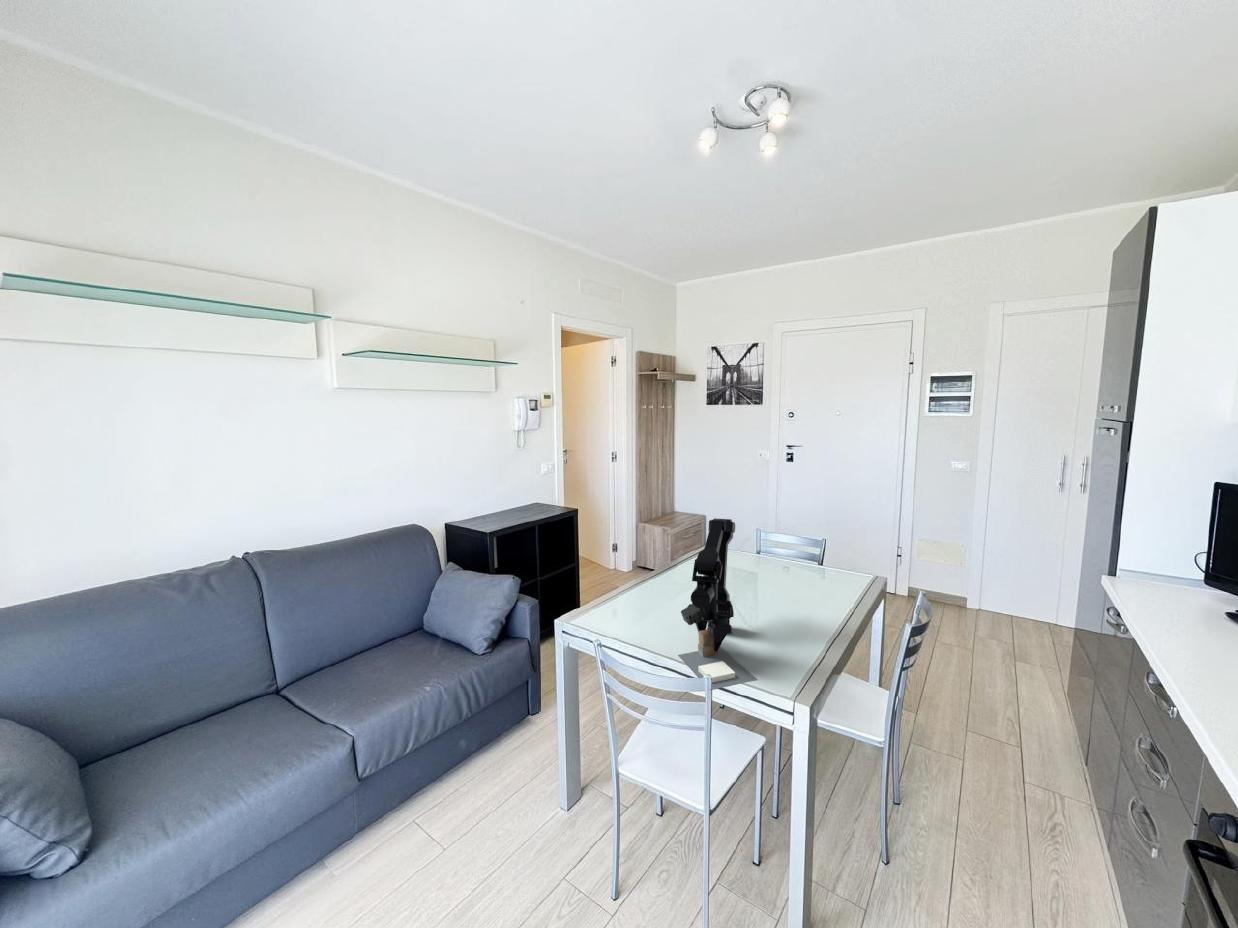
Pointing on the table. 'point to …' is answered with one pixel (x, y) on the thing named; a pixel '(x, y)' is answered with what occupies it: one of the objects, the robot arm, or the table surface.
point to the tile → (717, 671)
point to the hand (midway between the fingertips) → (708, 644)
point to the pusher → (705, 644)
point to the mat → (697, 660)
